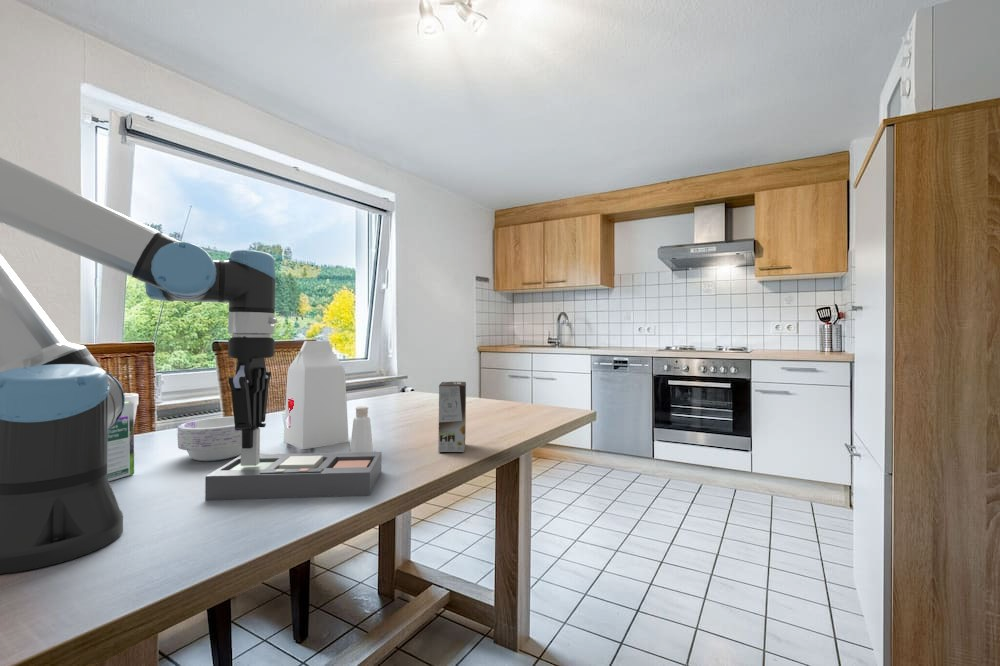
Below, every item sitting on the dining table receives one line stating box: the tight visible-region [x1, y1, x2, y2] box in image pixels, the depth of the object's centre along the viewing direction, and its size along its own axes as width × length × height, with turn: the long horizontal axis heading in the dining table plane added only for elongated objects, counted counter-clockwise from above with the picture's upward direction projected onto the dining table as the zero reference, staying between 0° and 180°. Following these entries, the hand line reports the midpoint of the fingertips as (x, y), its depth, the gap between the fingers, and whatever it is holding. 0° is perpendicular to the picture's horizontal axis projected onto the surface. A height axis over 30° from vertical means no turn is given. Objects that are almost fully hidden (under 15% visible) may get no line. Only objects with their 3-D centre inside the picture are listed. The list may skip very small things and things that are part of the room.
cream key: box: [279, 456, 323, 469], centre depth 87 cm, size 6×6×2 cm
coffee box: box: [437, 381, 467, 453], centre depth 115 cm, size 9×6×16 cm
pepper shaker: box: [349, 405, 374, 453], centre depth 109 cm, size 5×5×11 cm
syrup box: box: [107, 401, 135, 482], centre depth 90 cm, size 6×6×14 cm
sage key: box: [230, 462, 274, 470], centre depth 86 cm, size 6×6×2 cm
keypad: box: [204, 451, 382, 501], centre depth 87 cm, size 14×27×4 cm, turn 96°
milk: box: [283, 340, 350, 450], centre depth 121 cm, size 12×12×26 cm
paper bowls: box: [176, 415, 241, 462], centre depth 106 cm, size 15×15×8 cm
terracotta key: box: [333, 460, 371, 468], centre depth 88 cm, size 6×6×2 cm
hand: (250, 464), depth 86 cm, fingers closed
